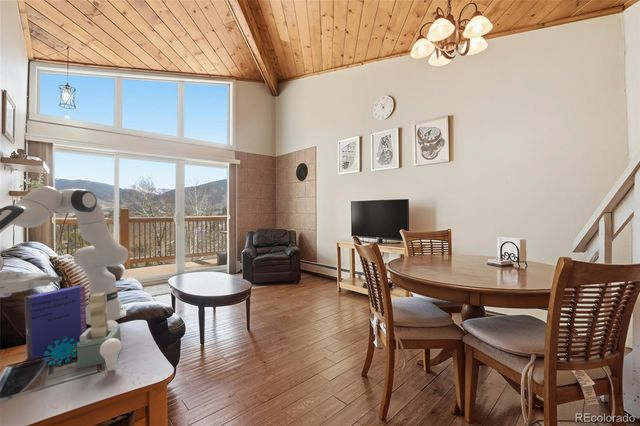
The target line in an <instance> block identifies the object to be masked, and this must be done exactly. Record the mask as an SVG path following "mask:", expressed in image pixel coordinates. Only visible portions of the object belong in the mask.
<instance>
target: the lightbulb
mask: <svg viewBox="0 0 640 426" xmlns="http://www.w3.org/2000/svg"><path fill="white" fill-rule="evenodd" d="M121 349H122V341H121V342H120V341H119V340H118V339H115V338H111V339H108V340H106V341H105V342H104V343H103V344H102V345H101V347H100V354H101V356H102V357H103V358H104V359H105V365H106V370H107V371H108V372H113V371H114V370H115V369H116V368H117V362H118V356H119V354H120V352H121Z"/></svg>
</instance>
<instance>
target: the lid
mask: <svg viewBox="0 0 640 426" xmlns="http://www.w3.org/2000/svg"><path fill="white" fill-rule="evenodd" d="M119 331H120V332H121V326H118V327H115V328H109V329H108V334H109V335H108V336H106V337H101V338H95V339H92V336H91V327H88V328H87V330H86V331H85V332H84V333H83V334H82V335H81V336H80V342H79V343H78V344H77V346H76V348H79V347H84V346H90V345H96V344H101V343H104V342H105V341H106V340H108V339H111V338H114V337H115V336H116V335H117V333H118V332H119Z"/></svg>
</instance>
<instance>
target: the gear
mask: <svg viewBox="0 0 640 426" xmlns="http://www.w3.org/2000/svg"><path fill="white" fill-rule="evenodd" d="M67 340H68V339H67V338H63V342H62V343H61V344H60V345H58V344H59V340H57V341H55V344H56V347H55V348H52V345H50V346H48V347H47V349H50V350H52V353H49V352H48V351H45V353H44V356H43V357H44V362H46V363H47V362H48V364H49V366H53V365H54V364H55V363H56V362H57V363H56V365H57V366H61V365H63V364H62V363H63V361H64V359H65V364H67V363H70V362H71V358H70V357H69V356H72V358H74V359H75V358H76V357H77V344H78V343H79V342H76V343H74V344H69V343H72V342H74V341H75V340H74V339H73V338H72V339H71V340H70V341H69V342H67V343H64V342H66V341H67ZM73 346H74V347H73ZM48 356H51V357H48ZM50 360H51V361H50Z"/></svg>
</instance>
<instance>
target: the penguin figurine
mask: <svg viewBox="0 0 640 426" xmlns="http://www.w3.org/2000/svg"><path fill="white" fill-rule="evenodd" d="M115 327H119V323H118V322H117V321H116V320H114V321H113V320H108V329H109V328H115Z"/></svg>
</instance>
